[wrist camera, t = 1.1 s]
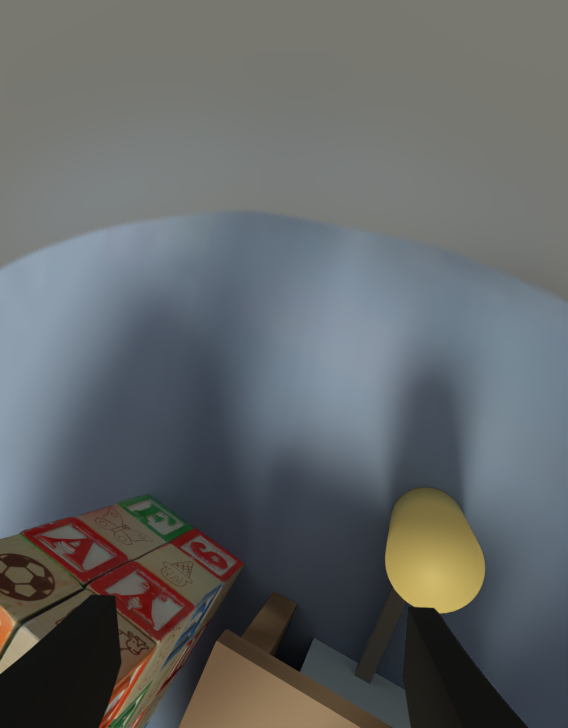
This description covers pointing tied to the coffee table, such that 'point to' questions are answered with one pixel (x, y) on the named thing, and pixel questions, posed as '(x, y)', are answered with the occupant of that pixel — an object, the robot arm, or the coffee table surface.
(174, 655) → the stack of blocks
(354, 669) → the cube joystick
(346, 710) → the open wooden box
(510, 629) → the coffee table surface
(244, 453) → the coffee table surface
